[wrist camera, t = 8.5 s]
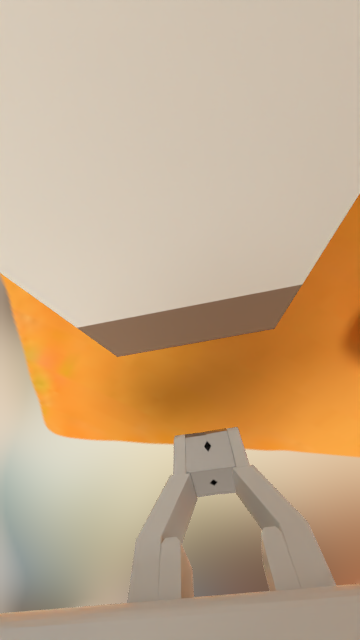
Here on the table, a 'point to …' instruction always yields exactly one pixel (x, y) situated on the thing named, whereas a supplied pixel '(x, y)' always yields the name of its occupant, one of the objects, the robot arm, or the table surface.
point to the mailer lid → (174, 159)
